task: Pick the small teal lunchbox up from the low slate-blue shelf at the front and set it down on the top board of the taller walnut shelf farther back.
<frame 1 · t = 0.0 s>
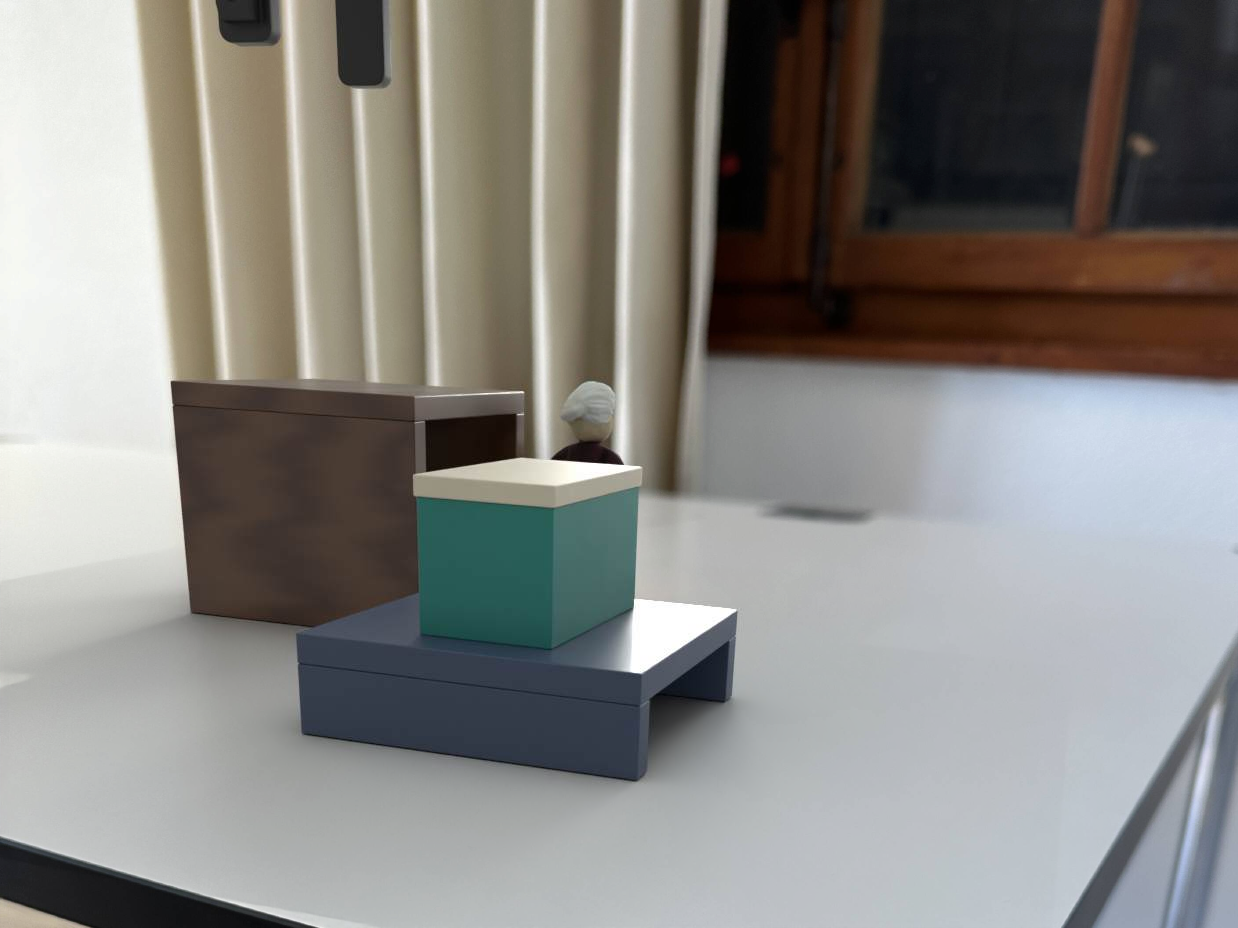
hand: (312, 67, 52), 25 cm above the table, tool pointing down, fingers open, 8 cm apart
lunchbox: (534, 620, 55), point 4 cm above the table, touching low shelf
grandmother figurine: (585, 597, 83), on the table
low shelf: (533, 713, 56), on the table
high shelf: (366, 604, 77), on the table
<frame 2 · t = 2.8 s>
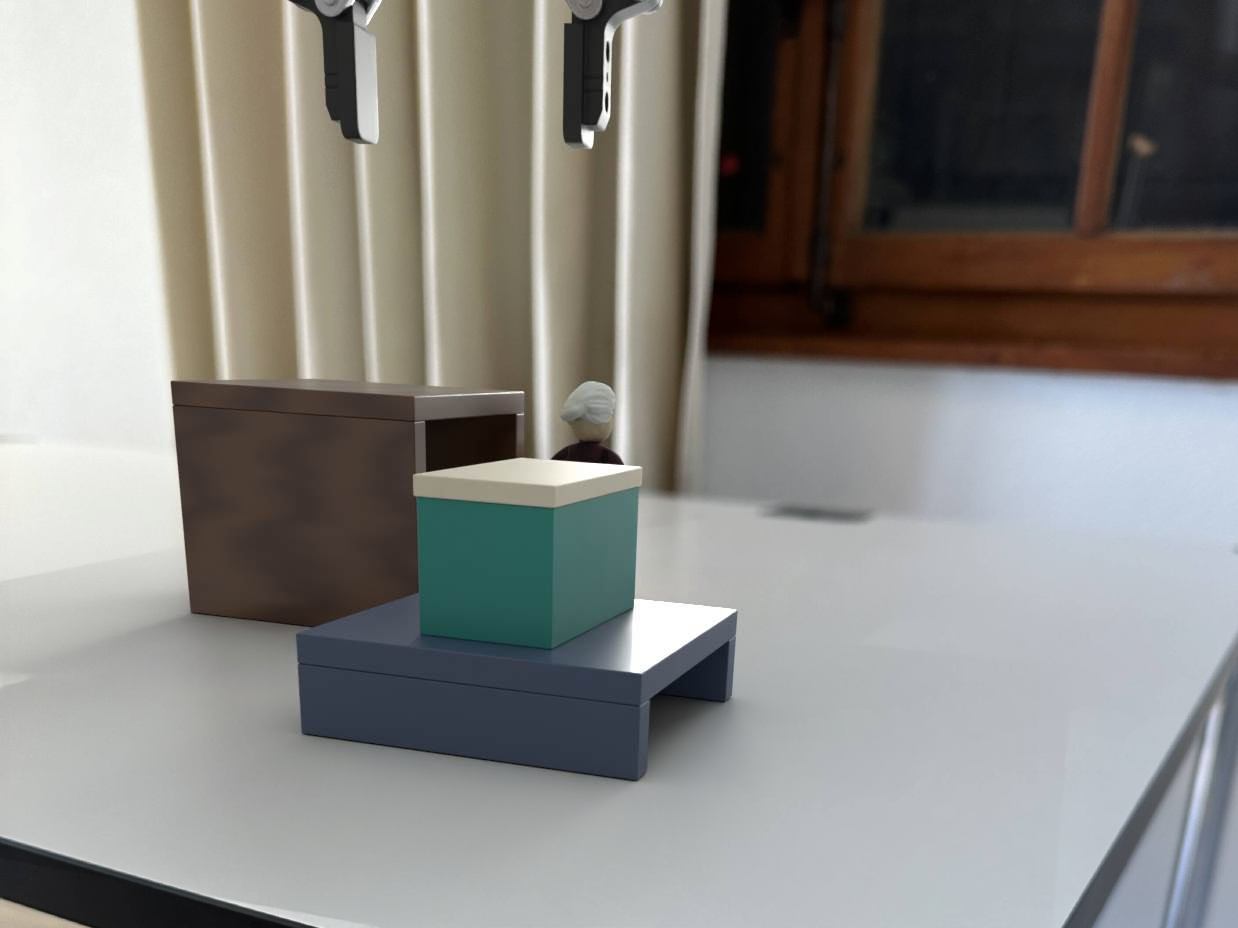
hand: (467, 143, 50), 22 cm above the table, tool pointing down, fingers open, 8 cm apart
nothing on the table moved.
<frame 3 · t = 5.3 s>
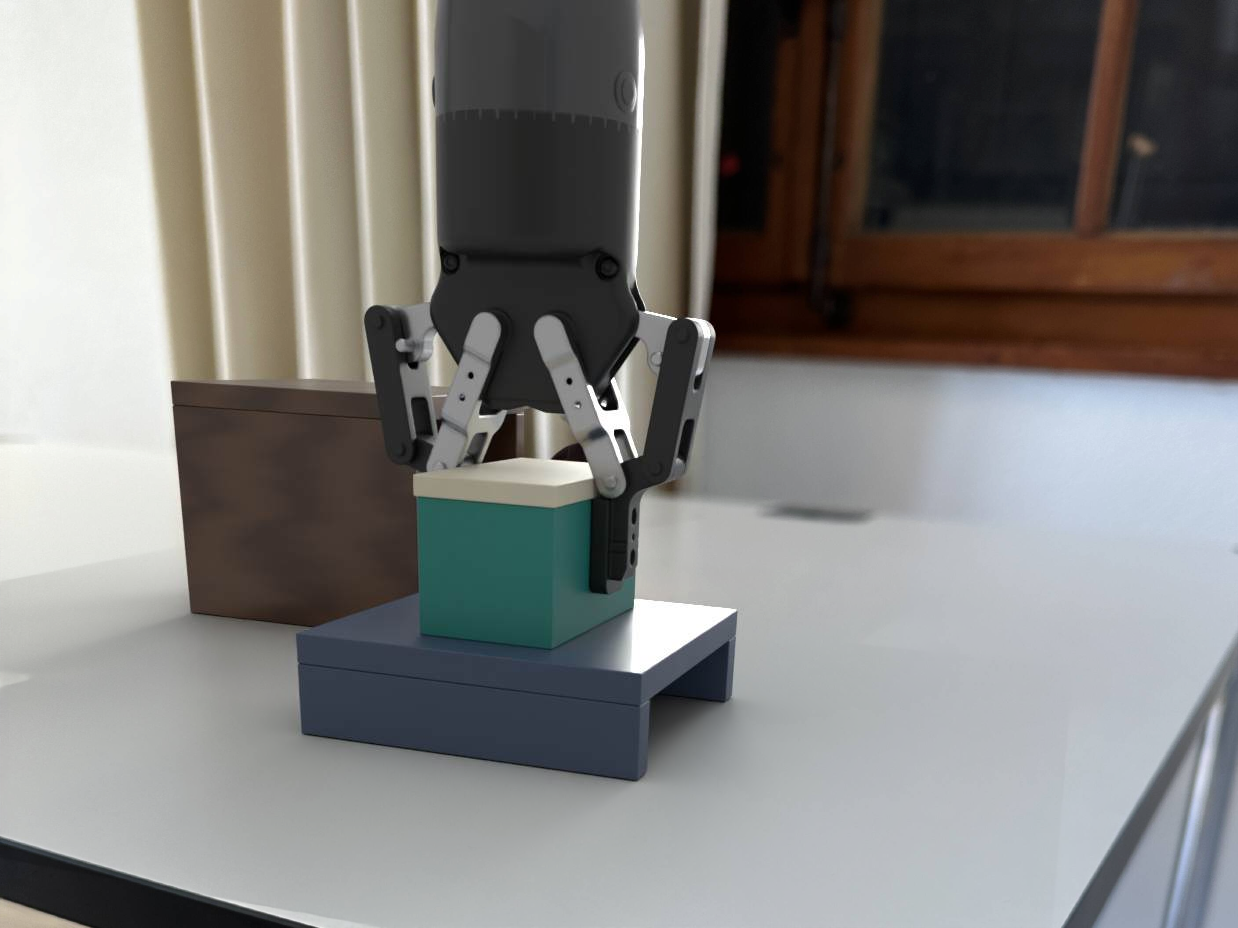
hand: (534, 582, 54), 6 cm above the table, tool pointing down, fingers closed on lunchbox, 5 cm apart
lunchbox: (534, 620, 55), point 4 cm above the table, touching gripper, low shelf
everything else where it was.
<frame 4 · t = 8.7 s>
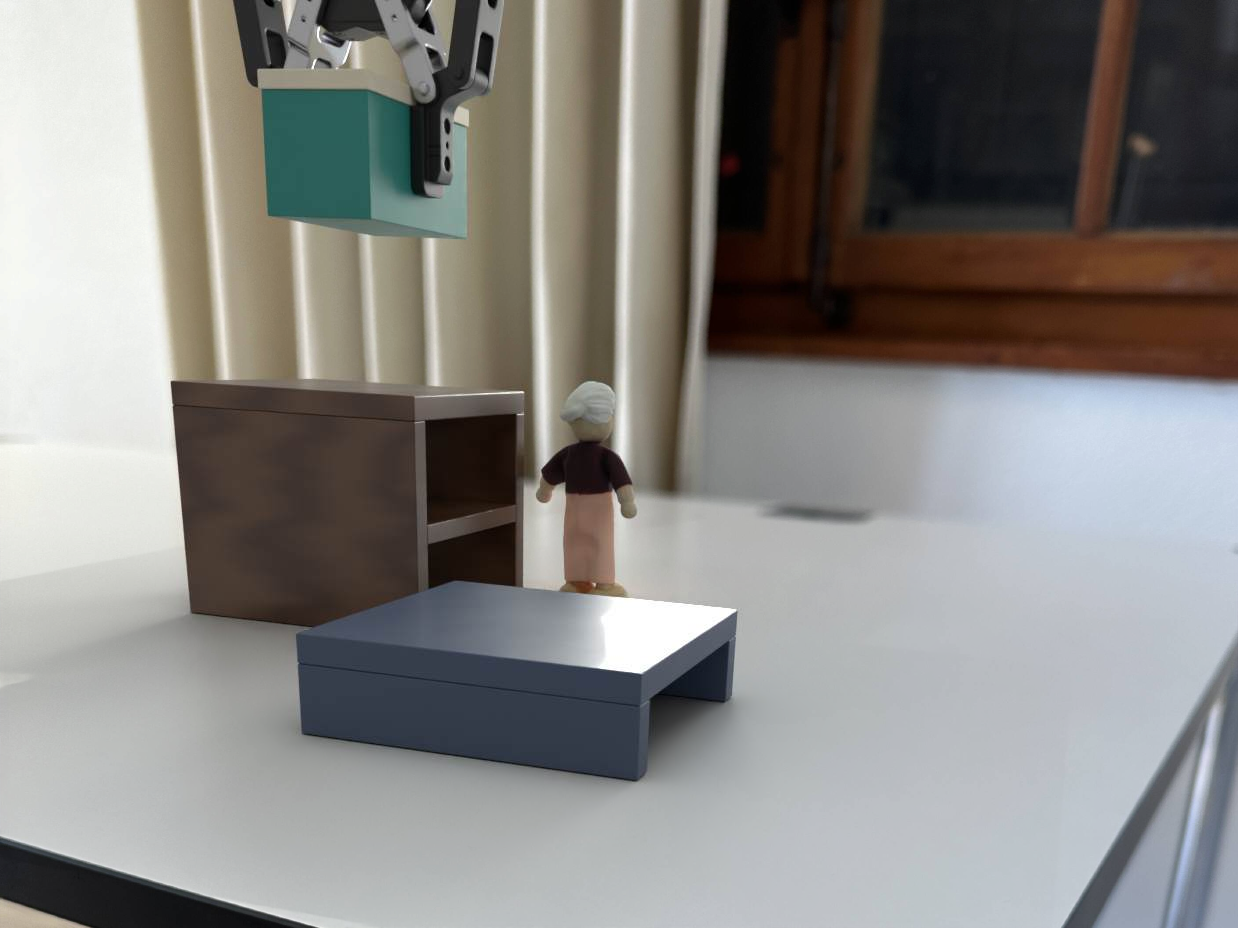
hand: (370, 193, 65), 21 cm above the table, tool pointing down, fingers closed on lunchbox, 5 cm apart
lunchbox: (372, 228, 66), point 20 cm above the table, touching gripper
everything else where it was.
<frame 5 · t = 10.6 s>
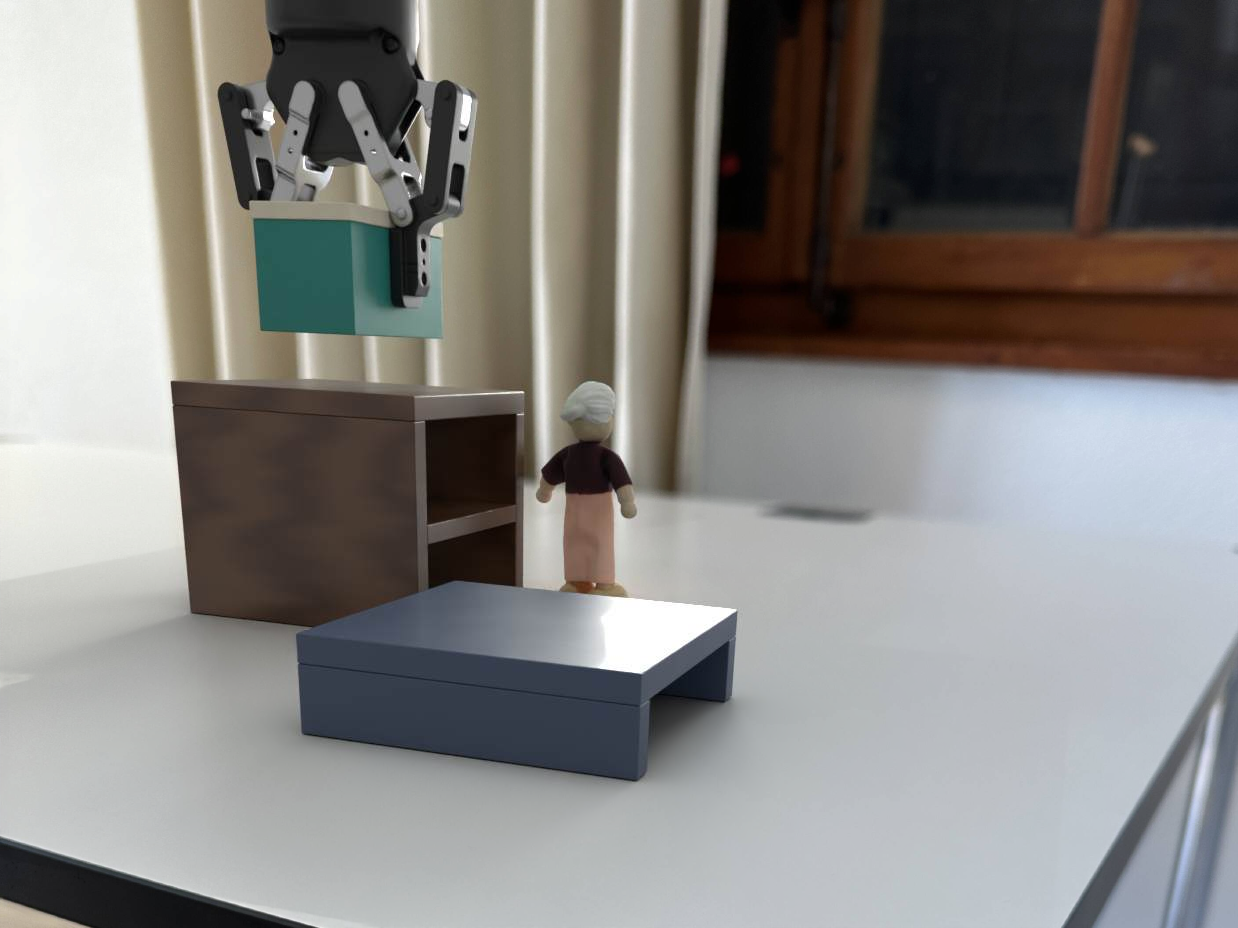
hand: (354, 304, 71), 16 cm above the table, tool pointing down, fingers closed on lunchbox, 5 cm apart
lunchbox: (356, 335, 71), point 15 cm above the table, touching gripper
everything else where it was.
when the fingers open (14 cm above the table, at t = 12.0 s): lunchbox stays where it is, resting on high shelf.
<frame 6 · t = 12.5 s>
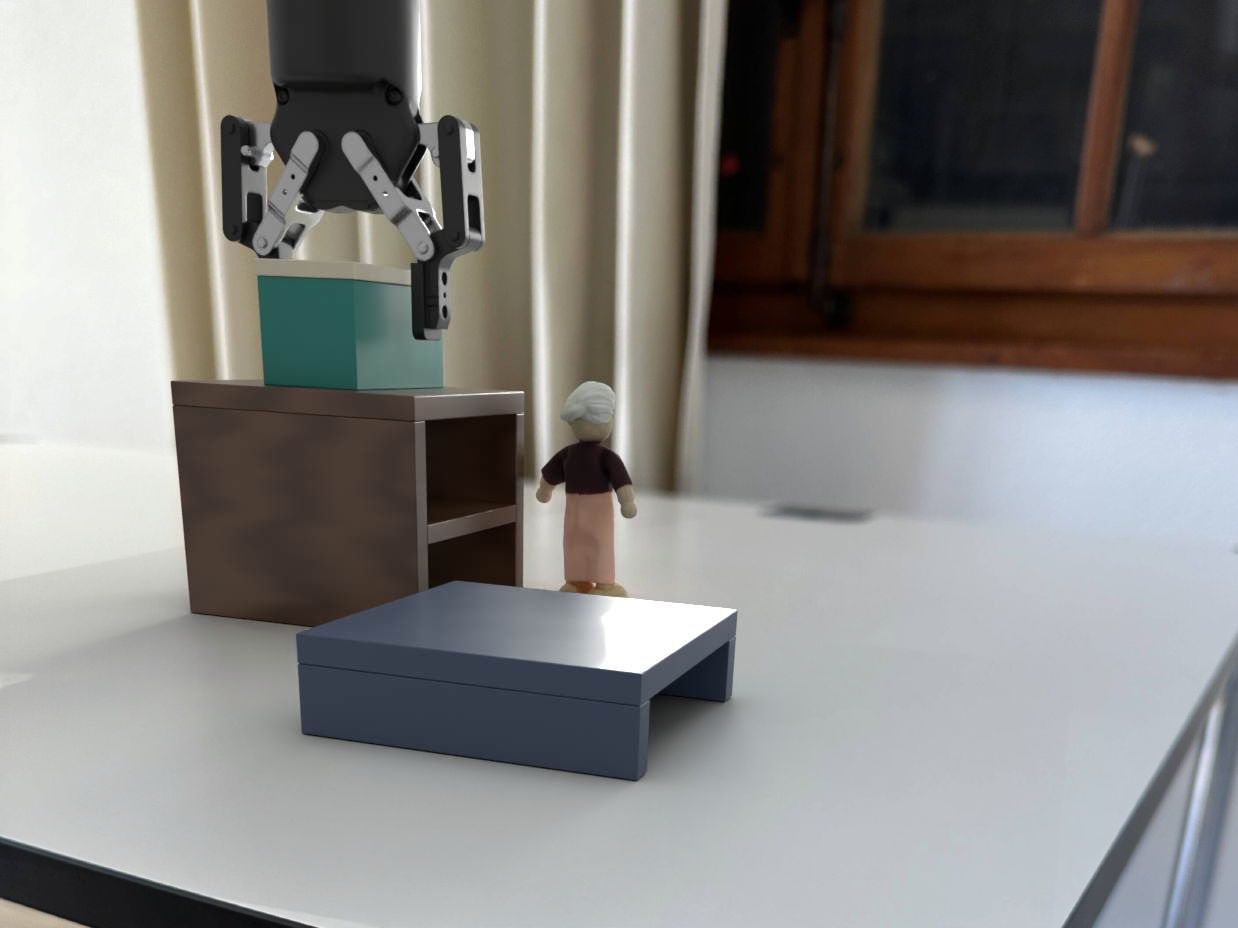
hand: (356, 337, 71), 15 cm above the table, tool pointing down, fingers open, 8 cm apart
lunchbox: (358, 386, 72), point 12 cm above the table, touching high shelf
everything else where it was.
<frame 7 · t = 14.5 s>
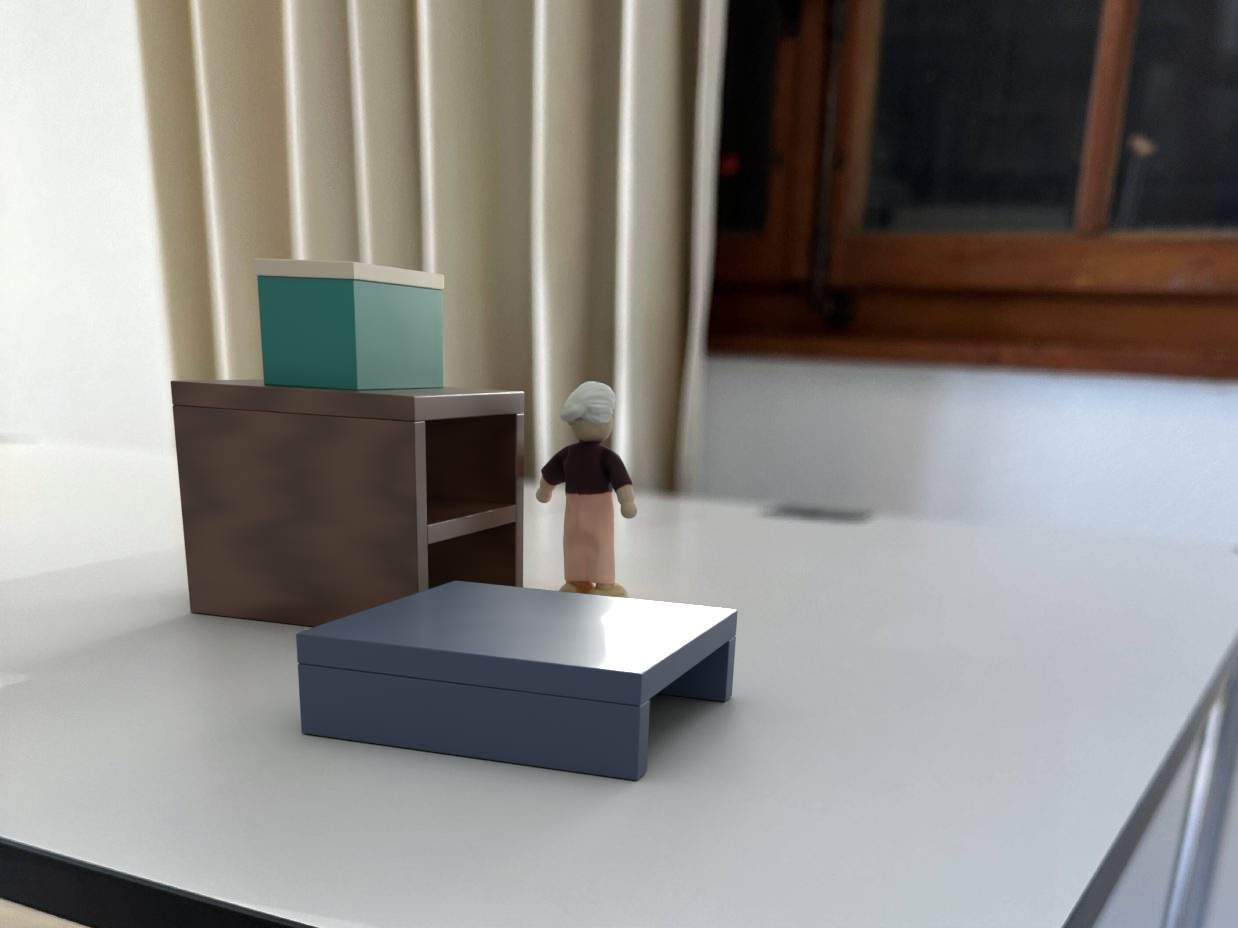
nothing on the table moved.
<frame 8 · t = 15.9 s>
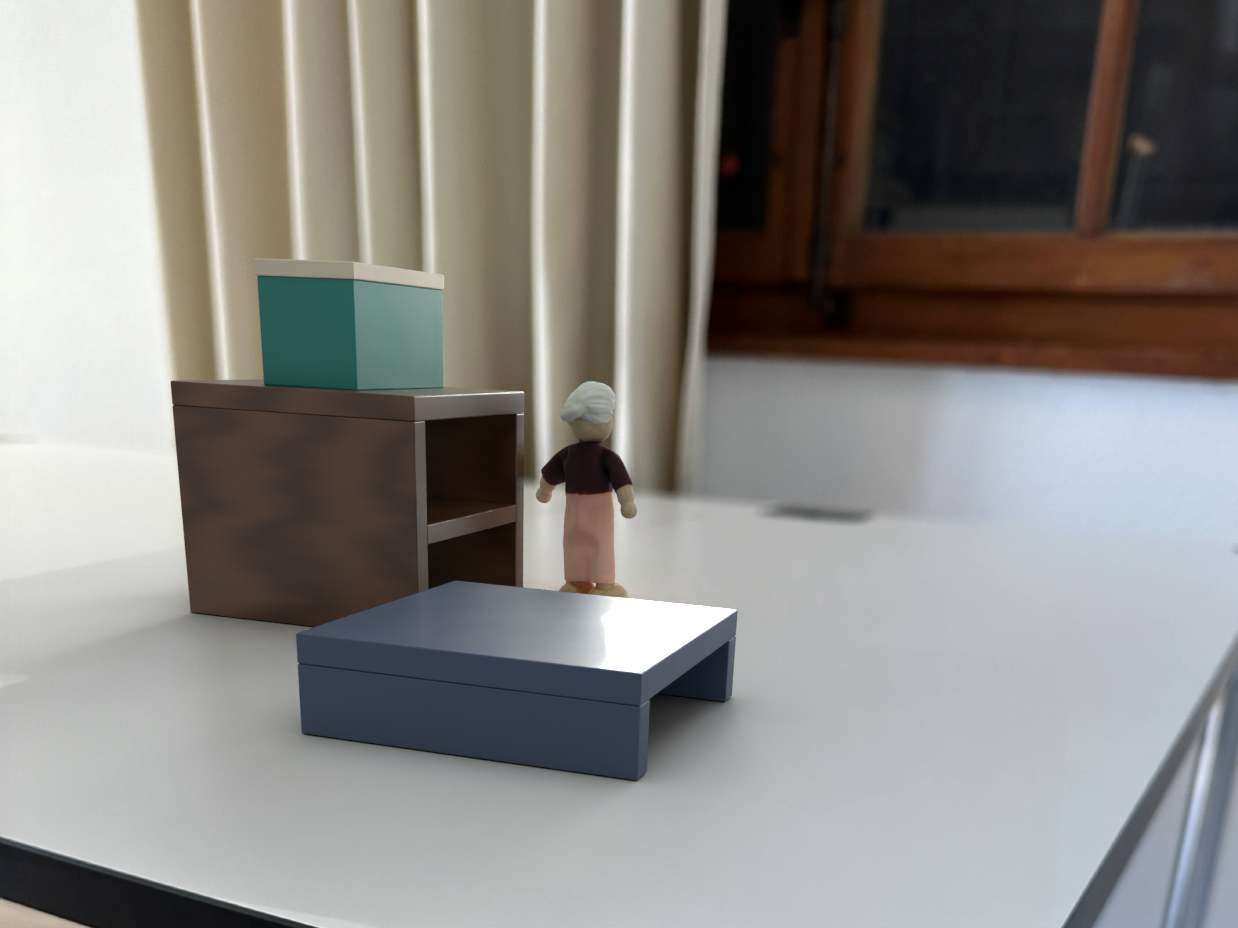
nothing on the table moved.
at the end: lunchbox inside the target area on the high shelf (0.0 cm from its centre), point 12.0 cm above the high shelf's base; lunchbox tilted 0° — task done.
